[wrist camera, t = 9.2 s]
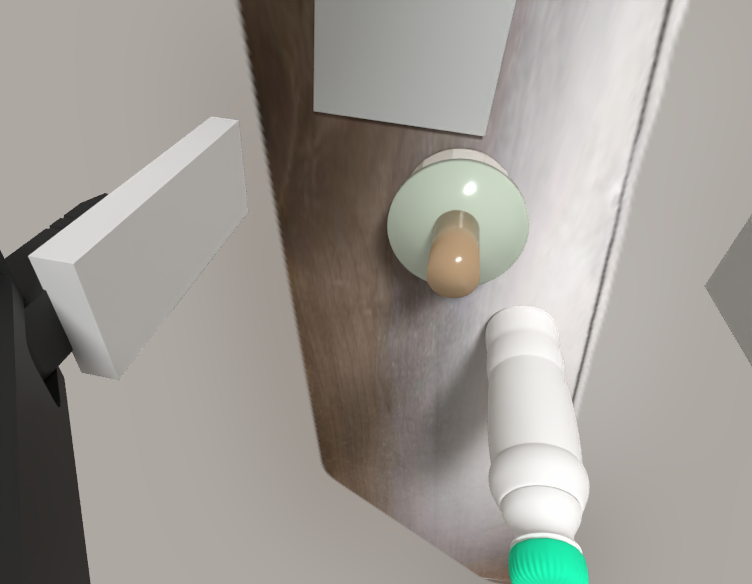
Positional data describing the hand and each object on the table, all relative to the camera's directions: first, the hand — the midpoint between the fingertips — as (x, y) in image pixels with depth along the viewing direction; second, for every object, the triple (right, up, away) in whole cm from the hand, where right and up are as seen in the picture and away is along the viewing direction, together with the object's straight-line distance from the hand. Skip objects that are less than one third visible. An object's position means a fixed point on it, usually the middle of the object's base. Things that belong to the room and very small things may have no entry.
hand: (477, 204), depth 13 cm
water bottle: (+12, -6, +37) cm, 39 cm away
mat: (0, +17, +22) cm, 28 cm away
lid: (+4, +3, +26) cm, 26 cm away
